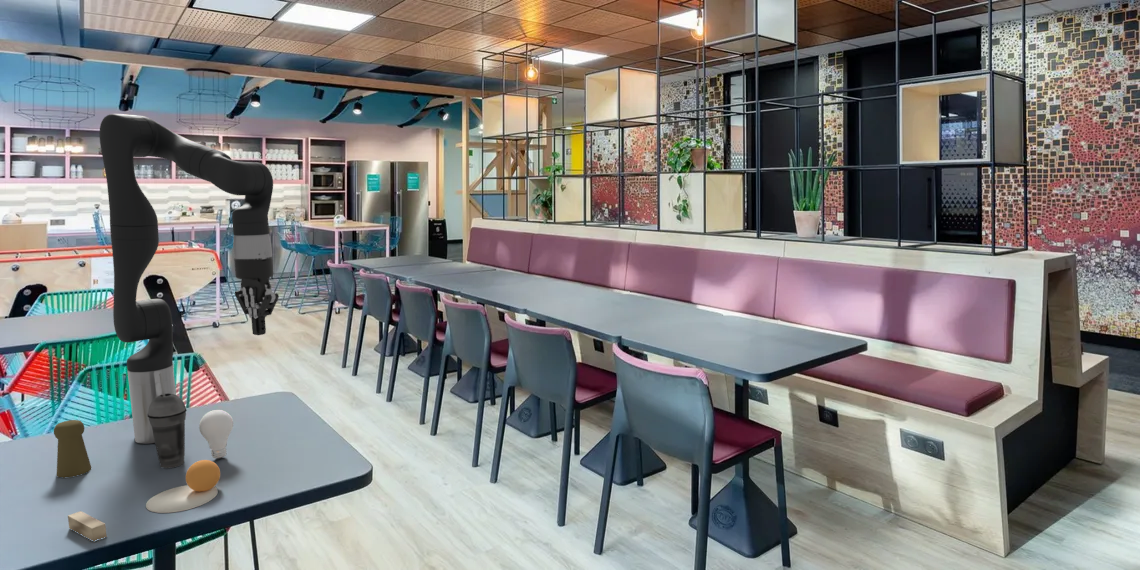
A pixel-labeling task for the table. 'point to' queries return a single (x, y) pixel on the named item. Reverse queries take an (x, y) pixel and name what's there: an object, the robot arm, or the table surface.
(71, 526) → the rail
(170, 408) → the beverage cup
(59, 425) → the cork
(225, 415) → the light bulb
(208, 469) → the ball
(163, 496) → the plate
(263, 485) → the table surface
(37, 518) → the table surface
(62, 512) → the table surface
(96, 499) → the table surface
